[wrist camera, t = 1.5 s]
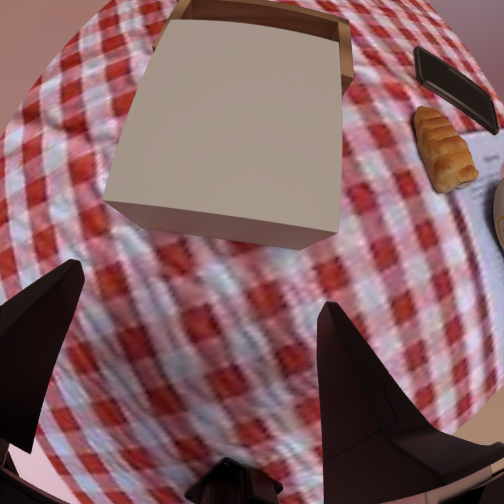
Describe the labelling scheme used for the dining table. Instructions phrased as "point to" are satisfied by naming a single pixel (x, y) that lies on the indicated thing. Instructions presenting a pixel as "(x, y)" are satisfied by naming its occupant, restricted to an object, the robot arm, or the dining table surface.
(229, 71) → the beige box
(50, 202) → the dining table surface
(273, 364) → the dining table surface
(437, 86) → the phone
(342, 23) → the walnut pocket
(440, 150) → the pastry
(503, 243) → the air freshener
